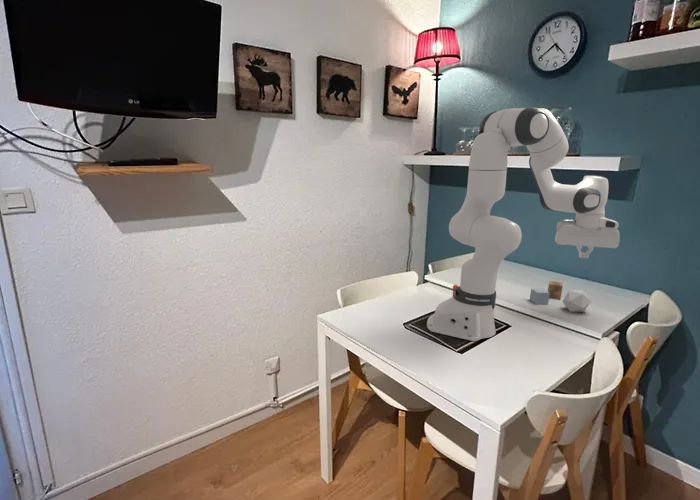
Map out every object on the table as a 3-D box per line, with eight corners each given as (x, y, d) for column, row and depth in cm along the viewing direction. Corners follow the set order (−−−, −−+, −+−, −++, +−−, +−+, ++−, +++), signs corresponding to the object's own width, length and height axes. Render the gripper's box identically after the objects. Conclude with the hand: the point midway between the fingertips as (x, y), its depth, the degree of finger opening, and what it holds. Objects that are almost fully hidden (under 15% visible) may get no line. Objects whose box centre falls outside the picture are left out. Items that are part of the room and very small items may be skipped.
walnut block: (547, 297, 163) (548, 284, 162) (547, 294, 168) (549, 280, 166) (560, 299, 161) (562, 286, 160) (560, 296, 166) (562, 282, 164)
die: (587, 318, 144) (599, 296, 145) (566, 305, 145) (578, 283, 146) (574, 317, 152) (585, 296, 154) (554, 305, 153) (566, 284, 154)
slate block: (535, 304, 156) (537, 292, 154) (529, 300, 160) (531, 288, 159) (548, 304, 156) (549, 292, 155) (541, 300, 161) (543, 288, 160)
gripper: (559, 220, 142) (553, 257, 145) (624, 223, 136) (617, 262, 139) (555, 217, 148) (550, 253, 151) (618, 221, 142) (611, 257, 145)
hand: (583, 257), depth 145 cm, fingers closed
